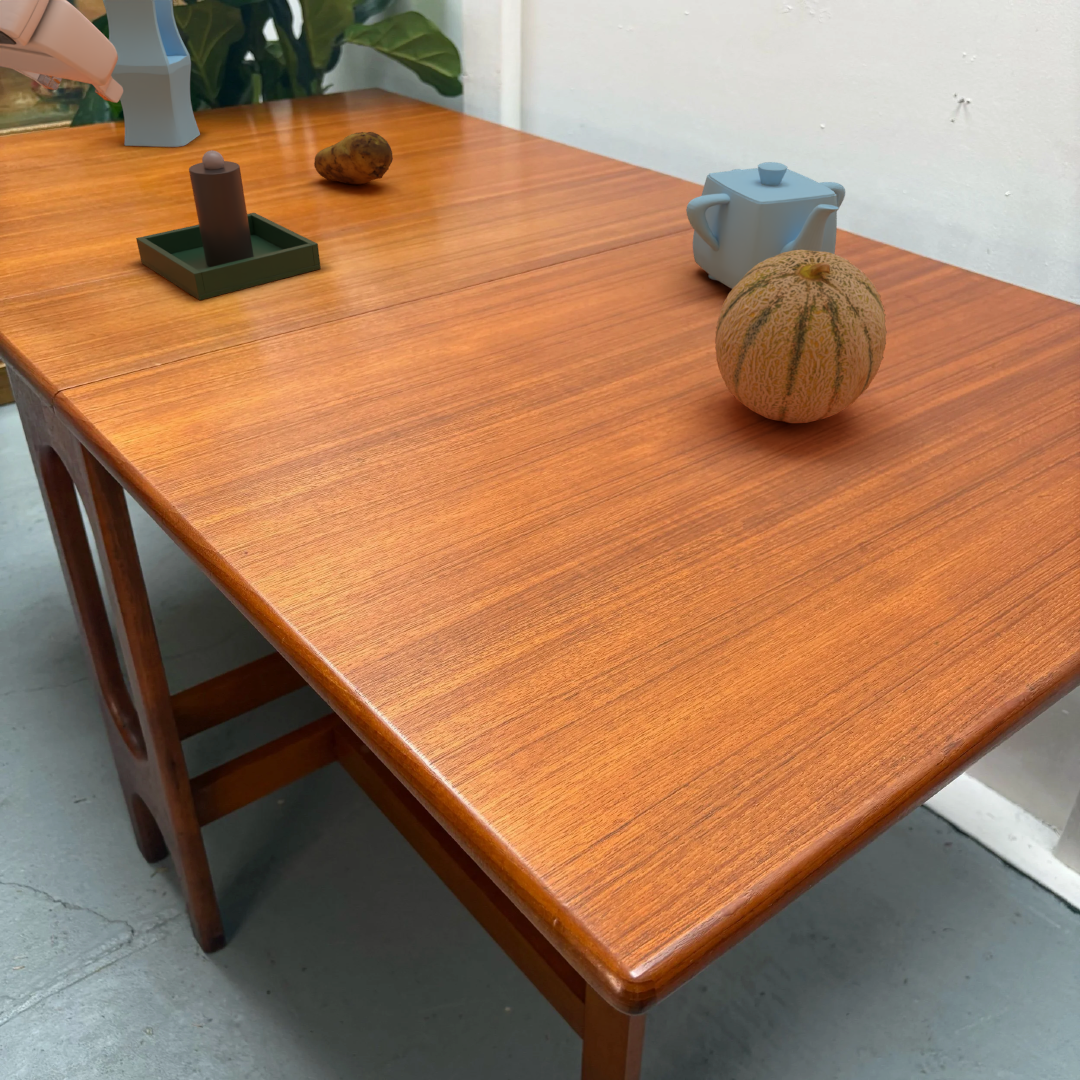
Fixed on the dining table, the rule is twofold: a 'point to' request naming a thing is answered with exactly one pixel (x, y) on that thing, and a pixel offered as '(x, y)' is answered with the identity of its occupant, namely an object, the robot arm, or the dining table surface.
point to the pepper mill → (221, 210)
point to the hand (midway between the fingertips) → (85, 89)
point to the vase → (151, 73)
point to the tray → (273, 260)
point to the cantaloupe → (801, 336)
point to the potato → (355, 159)
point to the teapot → (760, 218)
